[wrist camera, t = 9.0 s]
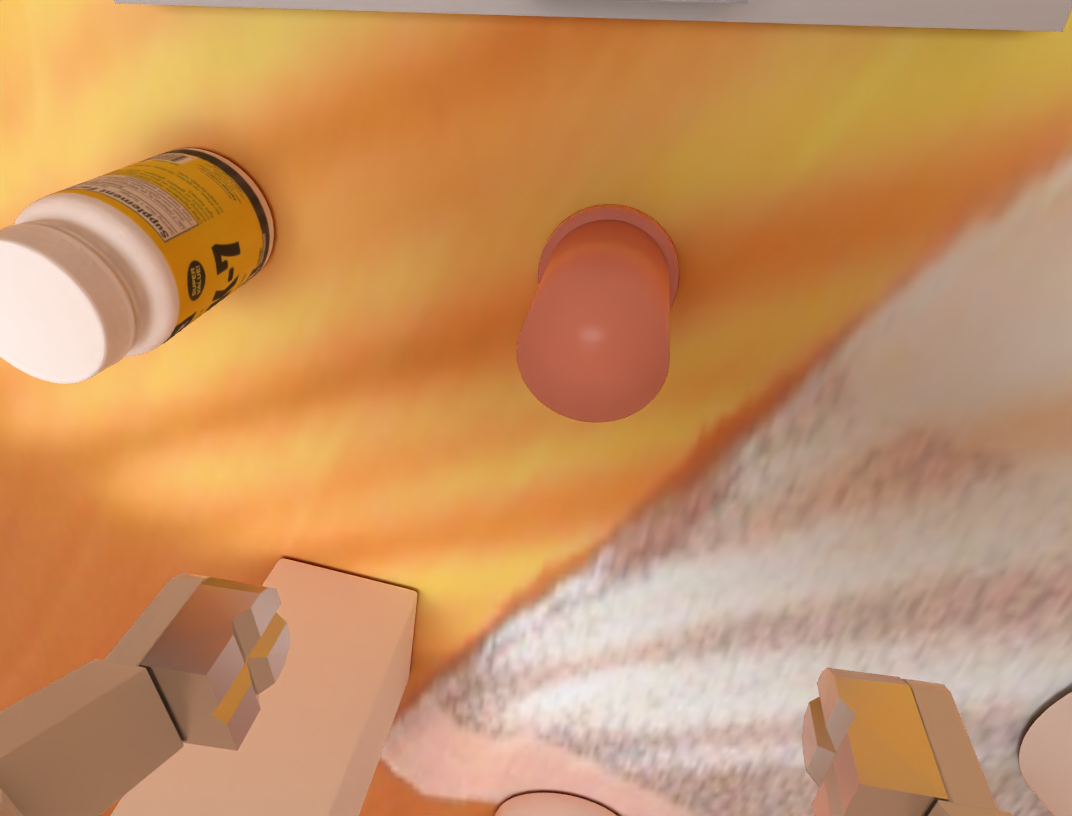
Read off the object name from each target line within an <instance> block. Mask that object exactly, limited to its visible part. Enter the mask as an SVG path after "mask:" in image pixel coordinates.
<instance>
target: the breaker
mask: <svg viewBox="0 0 1072 816" xmlns="http://www.w3.org/2000/svg"><path fill="white" fill-rule="evenodd" d="M629 1H667V2H705V3H743V4H748V0H629Z"/></svg>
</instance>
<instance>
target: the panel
mask: <svg viewBox="0 0 1072 816" xmlns="http://www.w3.org/2000/svg"><path fill="white" fill-rule="evenodd" d="M114 1H115V3H117V4H150V5H184V6H217V7H251V8H284V9H318V10H351V11H385V12H418V13H452V14H485V15H519V16H552V17H586V18H619V19H653V20H686V21H720V22H753V23H787V24H820V25H854V26H887V27H921V28H954V29H988V30H1021V31H1055V32H1063V29H1064V27H1065V24H1066V21H1067V19H1068V16H1069V14H1070V11H1071V9H1072V0H748V4H743V3H705V2H667V1H629V0H114Z"/></svg>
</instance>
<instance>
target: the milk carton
mask: <svg viewBox="0 0 1072 816" xmlns="http://www.w3.org/2000/svg"><path fill="white" fill-rule="evenodd" d="M262 586H264V587H270V588H276V589H277V592H278V595H279V598H280V600H281V605H280V606H279V608H278V610H277V611H276V613H277V614H279V615H280V616H281V617H282V618H283V619H284V620H285V621H286V622H287V625H288V628H289V632H290V647H289V650H288V654H287V658H286V661H285V665H284V667H283V669H282V671H281V673H280V675H279V677H278V679H277V681H276V682H275V683H274V684H273V685H272V686H270V687H269V688H267V689H266V690H264V691H263V692H261V693H260V694H259V702H260V709H261V710H260V712H259V713H258V715H257V717H256V719H255V720H254V722H253V724H252V726H251V728H250V729H249V731H248V733H247V735H246V737H245V738H244V740H243V742H242V744H241V746H240V747H239V749H238V751H235V750H228V749H222V748H215V747H208V746H202V745H195V744H188V743H183V744H184V747H183V748H181V749H180V750H179V751H178V752H177V753H175V754H174V755H173V756H172V757H170V758H169V759H168V760H167V761H166V762H164V763H163V764H162V765H161V766H159V767H158V768H157V769H156V770H155V771H153V772H152V773H151V774H150V775H148V776H147V777H146V778H145V779H144V780H142V781H141V782H140V783H139V784H137V785H136V786H135V787H134V788H133V789H131V790H130V791H129V792H128V793H126V794H125V795H124V796H123V797H122V799H121V800H120V802H119V803H118V805H117V806H116V808H115V809H114V811H113V812H112V814H111V815H110V816H359V813H360V811H361V808H362V805H363V802H364V800H365V797H366V794H367V791H368V789H369V786H370V783H371V781H372V778H373V775H374V772H375V770H376V767H377V764H378V761H379V759H380V756H381V753H382V750H383V748H384V745H385V742H386V739H387V737H388V734H389V731H390V729H391V726H392V723H393V720H394V718H395V715H396V712H397V709H398V707H399V704H400V701H401V698H402V696H403V693H404V690H405V687H406V685H407V682H408V679H409V674H410V665H411V655H412V645H413V635H414V625H415V615H416V605H417V592H416V591H413V590H409V589H406V588H402V587H398V586H394V585H390V584H386V583H382V582H378V581H374V580H370V579H366V578H362V577H358V576H354V575H350V574H346V573H342V572H338V571H334V570H330V569H326V568H322V567H318V566H313V565H309V564H305V563H301V562H297V561H293V560H289V559H284V558H282V559H280V560H279V561H278V562H277V563H276V565H275V566H274V568H273V569H272V571H271V572H270V574H269V576H268V577H267V579H266V580H265V582H264V583H263V585H262Z"/></svg>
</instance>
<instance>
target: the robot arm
mask: <svg viewBox="0 0 1072 816" xmlns="http://www.w3.org/2000/svg"><path fill="white" fill-rule="evenodd" d="M280 605H281V600H280V598H279V595H278V592H277V589H276V588H270V587H264V586H259V585H253V584H247V583H241V582H235V581H229V580H224V579H218V578H213V577H206V576H200V575H193V574H187V573H180V574H178V575H177V576H175V577H173V578H172V579H170V580H169V581H168V582H167V584H166V585H165V586H164V587H163V588H162V590H161V591H160V592H159V593H158V594H157V596H156V597H155V598H154V599H153V601H152V602H151V603H150V604H149V605H148V607H147V608H146V609H145V610H144V611H143V613H142V614H141V615H140V616H139V618H138V619H137V620H136V621H135V622H134V624H133V625H132V626H131V627H130V628H129V630H128V631H127V632H126V633H125V635H124V636H123V637H122V638H121V639H120V641H119V642H118V643H117V644H116V645H115V647H114V648H113V649H112V650H111V652H110V653H109V654H108V655H107V656H106V658H105V659H104V660H98V659H93V660H92V661H90V662H88V663H86V664H84V665H83V666H81V667H79V668H77V669H76V670H74V671H72V672H70V673H68V674H67V675H65V676H63V677H61V678H59V679H58V680H56V681H54V682H52V683H51V684H49V685H47V686H45V687H43V688H42V689H40V690H38V691H36V692H35V693H33V694H31V695H29V696H27V697H26V698H24V699H22V700H20V701H18V702H17V703H15V704H13V705H11V706H10V707H8V708H6V709H4V710H2V711H1V712H0V816H100V815H101V814H102V813H103V812H104V811H106V810H107V809H108V808H109V807H111V806H112V805H113V804H114V803H115V802H117V801H118V800H119V799H120V798H122V797H123V796H124V795H125V794H126V793H128V792H129V791H130V790H131V789H133V788H134V787H135V786H136V785H137V784H139V783H140V782H141V781H142V780H144V779H145V778H146V777H147V776H148V775H150V774H151V773H152V772H153V771H155V770H156V769H157V768H158V767H159V766H161V765H162V764H163V763H164V762H166V761H167V760H168V759H169V758H170V757H172V756H173V755H174V754H175V753H177V752H178V751H179V750H180V749H181V748H183V747H184V744H183V743H188V744H195V745H202V746H208V747H215V748H222V749H228V750H235V751H238V749H239V747H240V746H241V744H242V742H243V740H244V738H245V737H246V735H247V733H248V731H249V729H250V728H251V726H252V724H253V722H254V720H255V719H256V717H257V715H258V713H259V712H260V710H261V709H260V702H259V694H260V693H261V692H263V691H264V690H266V689H267V688H269V687H270V686H272V685H273V684H274V683H275V682H276V681H277V679H278V677H279V675H280V673H281V671H282V669H283V667H284V665H285V661H286V658H287V654H288V650H289V647H290V632H289V628H288V625H287V622H286V621H285V620H284V619H283V618H282V617H281V616H280V615H279V614H277V613H276V611H277V610H278V608H279V606H280ZM817 685H818V690H819V695H820V697H818V698H816V699H815V700H813V701H811V702H809V704H808V707H807V710H806V713H805V716H804V723H803V733H802V741H803V754H804V761H805V767H806V771H807V773H808V774H809V775H810V776H811V778H812V779H813V780H814V781H815V783H816V784H817V785H818V787H819V790H818V792H817V794H816V796H815V799H814V801H813V803H812V808H813V813H814V816H1014V815H1013V814H1012V813H1011V812H1007V811H1002V810H998V809H997V806H996V804H995V801H994V799H993V796H992V794H991V791H990V789H989V786H988V784H987V781H986V779H985V776H984V774H983V771H982V769H981V766H980V764H979V761H978V759H977V756H976V754H975V751H974V749H973V746H972V744H971V741H970V739H969V736H968V734H967V731H966V729H965V726H964V724H963V721H962V719H961V717H960V714H959V712H958V709H957V707H956V704H955V702H954V699H953V697H952V694H951V692H950V691H949V690H948V689H947V688H946V687H945V686H944V685H942V684H937V683H930V682H922V681H915V680H908V679H901V678H900V677H893V676H886V675H878V674H871V673H863V672H855V671H848V670H840V669H833V668H826V669H825V670H824V671H822V673H821V675H820V677H819V680H818V682H817ZM1019 765H1020V770H1021V773H1022V775H1023V778H1024V780H1025V781H1026V783H1027V784H1028V786H1029V787H1030V788H1031V790H1032V791H1033V792H1034V793H1035V794H1036V796H1037V797H1038V798H1039V799H1040V800H1041V801H1042V803H1043V804H1044V805H1045V806H1046V808H1047V809H1048V810H1049V812H1050V813H1051V814H1052V815H1053V816H1072V692H1070V693H1069V694H1067V695H1066V696H1064V697H1063V698H1061V699H1060V700H1058V701H1057V702H1056V703H1054V704H1053V705H1052V706H1050V707H1049V708H1048V709H1047V710H1046V711H1045V712H1044V713H1042V715H1041V716H1040V717H1039V718H1038V719H1037V720H1036V721H1035V722H1034V723H1033V725H1032V726H1031V727H1030V729H1029V730H1028V732H1027V733H1026V735H1025V737H1024V739H1023V742H1022V744H1021V748H1020V752H1019Z"/></svg>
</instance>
